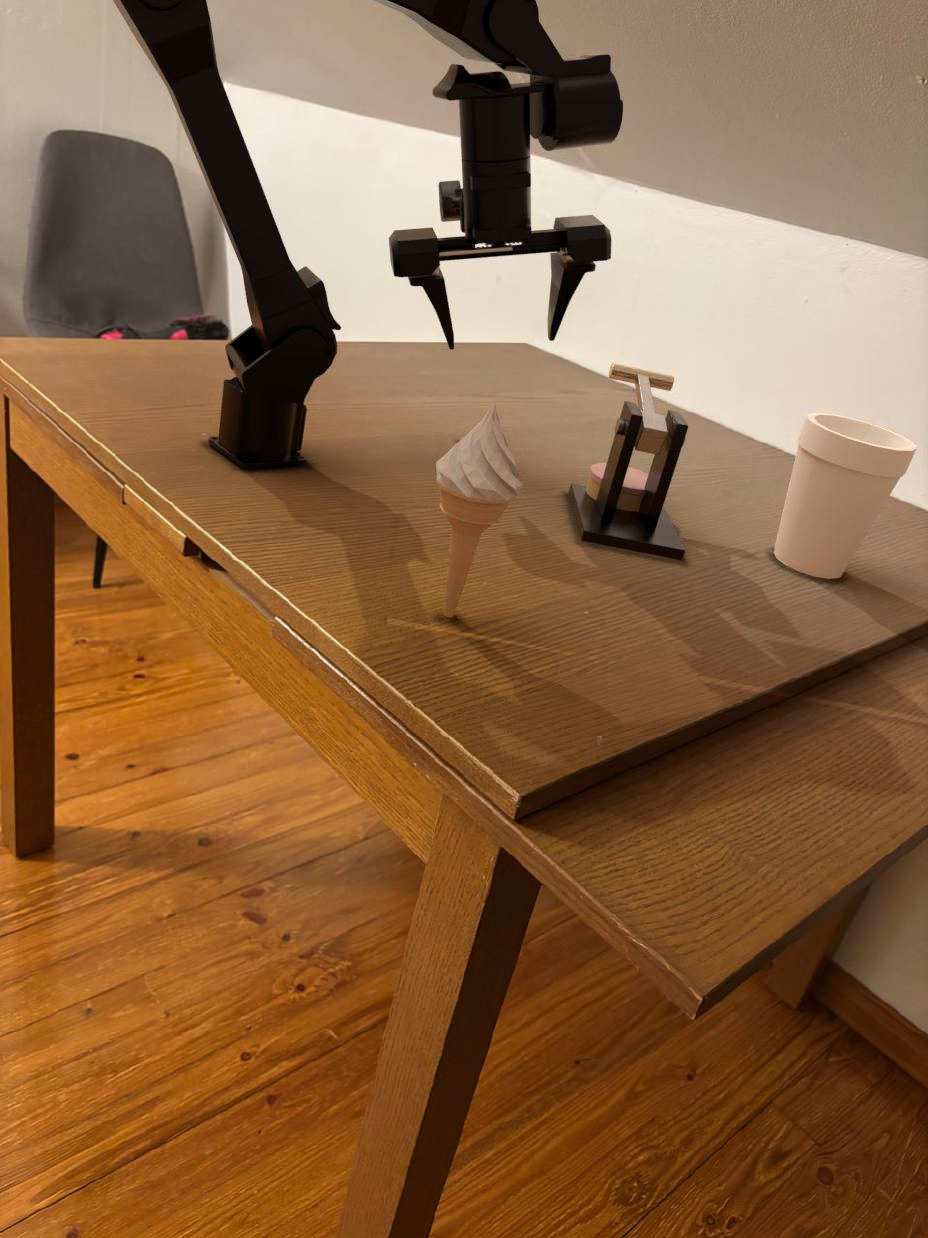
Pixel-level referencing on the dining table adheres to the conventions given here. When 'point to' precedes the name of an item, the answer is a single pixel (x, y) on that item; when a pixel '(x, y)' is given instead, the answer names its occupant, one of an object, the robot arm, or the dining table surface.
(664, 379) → the lever
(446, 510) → the ice cream cone
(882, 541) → the dining table surface
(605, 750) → the dining table surface
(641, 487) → the cake
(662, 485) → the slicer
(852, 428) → the foam cup
